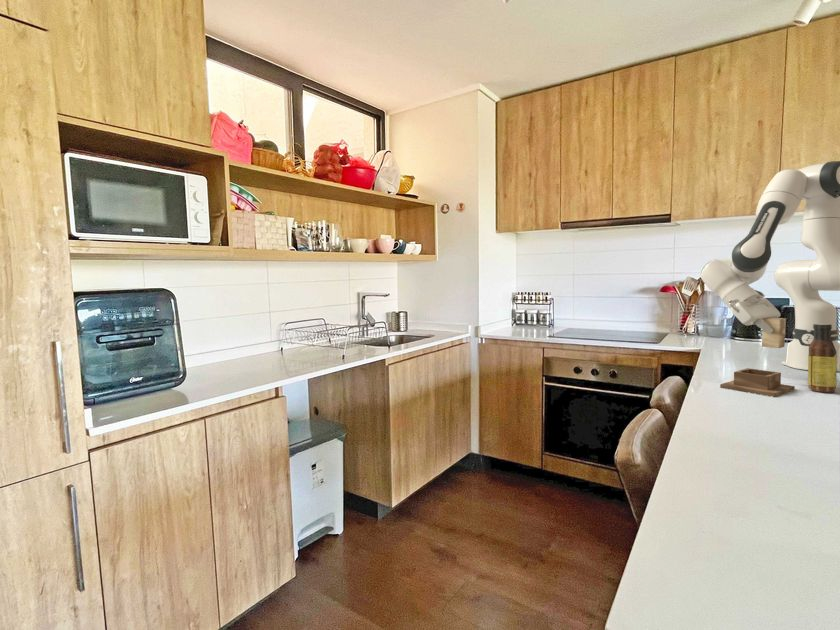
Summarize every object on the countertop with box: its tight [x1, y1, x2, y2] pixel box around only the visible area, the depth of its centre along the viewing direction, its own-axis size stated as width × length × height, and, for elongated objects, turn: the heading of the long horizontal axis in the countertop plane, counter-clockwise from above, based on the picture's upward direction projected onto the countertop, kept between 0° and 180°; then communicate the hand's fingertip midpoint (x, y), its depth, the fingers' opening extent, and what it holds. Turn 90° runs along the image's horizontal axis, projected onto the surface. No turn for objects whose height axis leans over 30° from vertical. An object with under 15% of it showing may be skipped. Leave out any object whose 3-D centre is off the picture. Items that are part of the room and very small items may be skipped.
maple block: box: [761, 317, 787, 349], centre depth 141 cm, size 4×4×9 cm
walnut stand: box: [719, 367, 796, 398], centre depth 136 cm, size 14×14×5 cm
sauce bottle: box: [807, 323, 838, 394], centre depth 131 cm, size 7×6×20 cm
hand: (776, 331), depth 140 cm, fingers closed on maple block, 4 cm apart
